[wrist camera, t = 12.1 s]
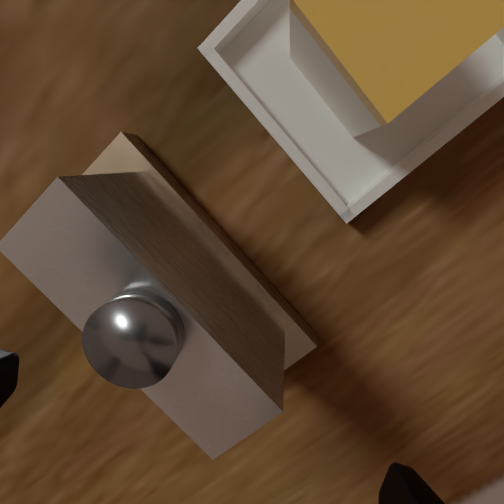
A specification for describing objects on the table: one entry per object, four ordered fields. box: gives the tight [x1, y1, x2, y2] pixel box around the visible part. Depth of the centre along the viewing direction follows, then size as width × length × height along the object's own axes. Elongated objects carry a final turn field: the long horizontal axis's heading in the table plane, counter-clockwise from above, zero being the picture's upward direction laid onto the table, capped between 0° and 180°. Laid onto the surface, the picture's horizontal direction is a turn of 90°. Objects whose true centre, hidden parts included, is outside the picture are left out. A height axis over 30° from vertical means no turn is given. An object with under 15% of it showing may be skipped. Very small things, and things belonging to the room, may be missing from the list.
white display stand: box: [0, 132, 317, 460], centre depth 15 cm, size 14×4×9 cm, turn 42°
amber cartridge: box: [290, 0, 504, 137], centre depth 12 cm, size 4×4×6 cm
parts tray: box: [198, 0, 504, 224], centre depth 15 cm, size 10×10×2 cm
